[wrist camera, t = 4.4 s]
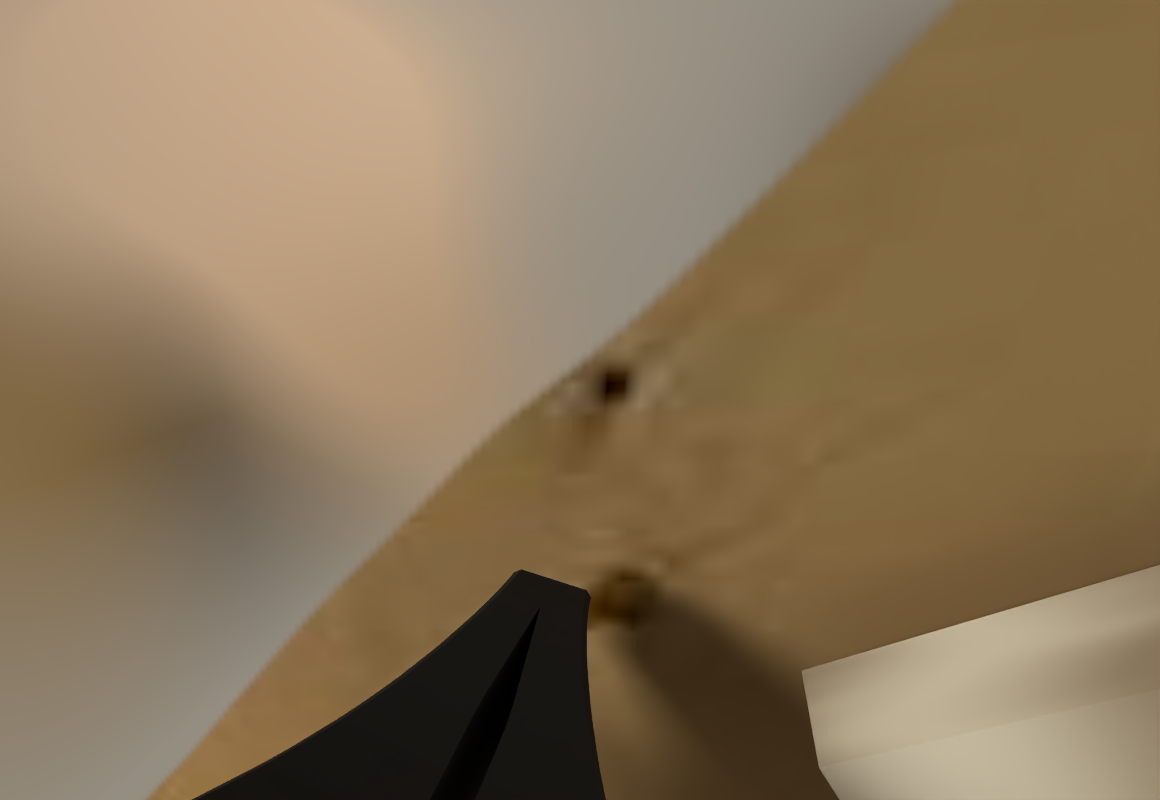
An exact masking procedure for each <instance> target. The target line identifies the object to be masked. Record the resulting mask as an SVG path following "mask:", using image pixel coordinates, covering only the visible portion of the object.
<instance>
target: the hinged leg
mask: <svg viewBox="0 0 1160 800" xmlns="http://www.w3.org/2000/svg"><path fill="white" fill-rule="evenodd" d="M802 676H803V682H804V687H805V693H806V698H807V704H808V709H809V715H810V721H811V726H812V732H813V737H814V743H815V749H816V754H817V760H818V765H819V769H820V770H821V772H822V773H823V775H824V776H825V778H826V780H827V781H828V783H829V784H830V786H831V787H832V789H833V790H834V792H835V794H836V795H837V797H838V798H839V800H1160V565H1158V566H1154V567H1151V568H1147V569H1144V570H1141V571H1137V572H1134V573H1130V574H1127V575H1124V576H1120V577H1117V578H1114V579H1110V580H1107V581H1103V582H1100V583H1097V584H1093V585H1090V586H1086V587H1083V588H1080V589H1076V590H1073V591H1070V592H1066V593H1063V594H1059V595H1056V596H1053V597H1049V598H1046V599H1042V600H1039V601H1036V602H1032V603H1029V604H1026V605H1022V606H1019V607H1015V608H1012V609H1009V610H1005V611H1002V612H998V613H995V614H992V615H988V616H985V617H982V618H978V619H975V620H971V621H968V622H965V623H961V624H958V625H954V626H951V627H948V628H944V629H941V630H938V631H934V632H931V633H927V634H924V635H921V636H917V637H914V638H910V639H907V640H904V641H900V642H897V643H894V644H890V645H887V646H883V647H880V648H877V649H873V650H870V651H866V652H863V653H860V654H856V655H853V656H850V657H846V658H843V659H839V660H836V661H833V662H829V663H826V664H822V665H819V666H816V667H812V668H809V669H805V670H802Z"/></svg>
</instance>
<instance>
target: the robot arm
mask: <svg viewBox="0 0 1160 800" xmlns="http://www.w3.org/2000/svg"><path fill="white" fill-rule="evenodd" d="M590 600H591V597H590V595H589V593H588V592H587V590H584V589H581V588H578V587H575V586H572V585H568V584H565V583H562V582H559V581H556V580H553V579H550V578H547V577H543V576H540V575H537V574H534V573H531V572H528V571H525V570H522V569H521V570H519V571H517V572H514V573H513V575H512V576H511V577H510V578H509V579H508V580H507V582H506V583H505V584H504V585H503V586H502V587H501V588H500V589H499V590H498V591H497V592H496V593H495V594H494V595H493V596H492V597H491V598H490V599H489V600H488V601H487V602H486V603H485V604H484V605H483V606H482V607H481V608H480V609H479V610H478V611H477V612H476V613H475V614H474V615H473V616H472V617H471V618H469V619H468V620H467V621H466V622H465V623H464V624H463V625H461V626H460V627H459V628H458V629H457V630H456V631H455V632H454V633H452V634H451V635H450V636H449V637H448V638H447V639H446V640H445V641H443V642H442V643H441V644H440V645H439V646H437V647H436V648H435V649H434V650H432V651H431V652H430V653H429V654H427V655H426V656H425V657H423V658H422V659H421V660H420V661H418V662H417V663H416V664H415V665H413V666H412V667H411V668H409V669H408V670H407V671H406V672H404V673H403V674H402V675H401V676H399V677H398V678H397V679H395V680H394V681H392V682H391V683H390V684H388V685H387V686H386V687H384V688H383V689H381V690H380V691H379V692H377V693H376V694H374V695H373V696H371V697H370V698H369V699H367V700H366V701H364V702H363V703H361V704H360V705H358V706H357V707H355V708H354V709H352V710H351V711H349V712H348V713H346V714H345V715H343V716H342V717H340V718H338V719H337V720H335V721H334V722H332V723H330V724H329V725H327V726H325V727H324V728H322V729H320V730H319V731H317V732H316V733H314V734H312V735H311V736H309V737H307V738H306V739H304V740H302V741H301V742H299V743H297V744H296V745H294V746H292V747H291V748H289V749H287V750H285V751H284V752H282V753H280V754H278V755H277V756H275V757H273V758H271V759H269V760H268V761H266V762H264V763H262V764H260V765H258V766H256V767H254V768H252V769H251V770H249V771H247V772H245V773H243V774H241V775H239V776H237V777H235V778H233V779H231V780H229V781H227V782H225V783H223V784H221V785H219V786H218V787H216V788H214V789H212V790H210V791H208V792H206V793H204V794H202V795H200V796H198V797H196V798H194V799H192V800H606V799H605V794H604V789H603V784H602V779H601V773H600V768H599V762H598V756H597V750H596V743H595V736H594V729H593V722H592V714H591V705H590V694H589V682H588V669H587V619H588V610H589V604H590Z"/></svg>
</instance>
